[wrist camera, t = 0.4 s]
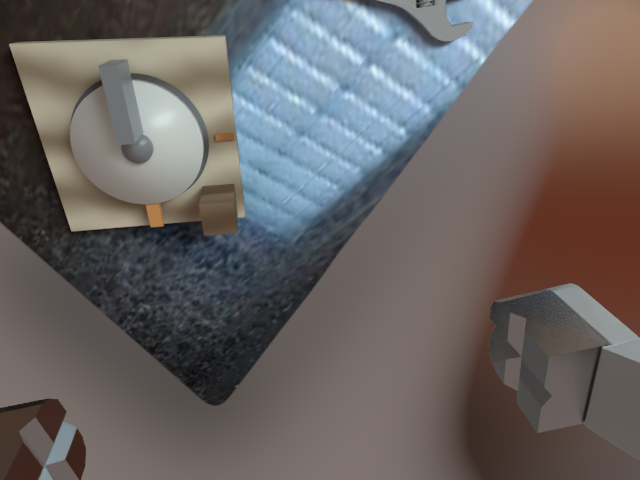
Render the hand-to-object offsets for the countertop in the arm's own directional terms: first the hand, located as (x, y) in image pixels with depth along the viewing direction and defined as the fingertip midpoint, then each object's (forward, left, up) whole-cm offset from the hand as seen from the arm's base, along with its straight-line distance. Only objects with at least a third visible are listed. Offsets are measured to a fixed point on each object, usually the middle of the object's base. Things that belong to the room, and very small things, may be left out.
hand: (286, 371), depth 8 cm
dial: (+8, -12, -43) cm, 45 cm away
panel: (+8, -12, -45) cm, 47 cm away
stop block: (+15, -5, -43) cm, 46 cm away
